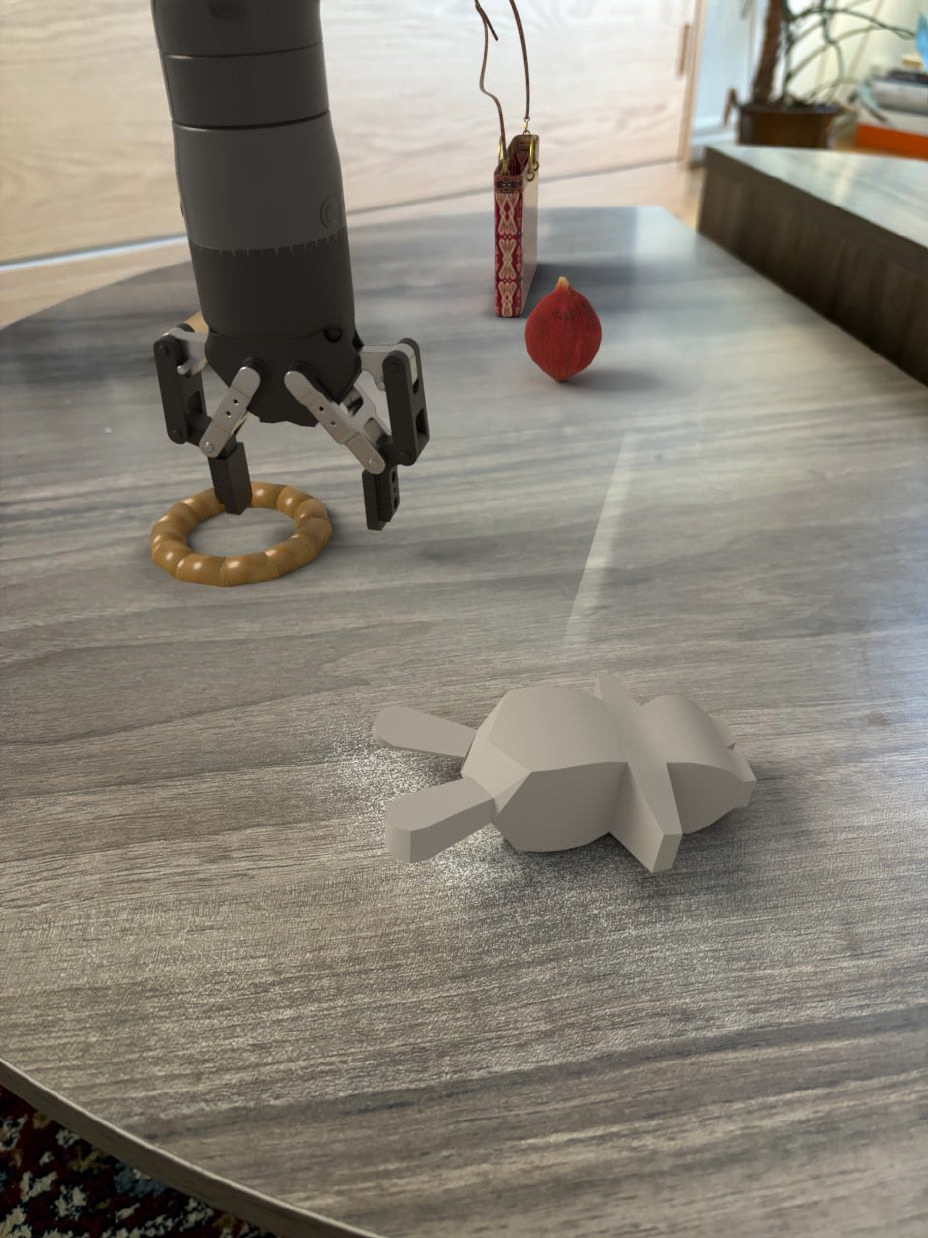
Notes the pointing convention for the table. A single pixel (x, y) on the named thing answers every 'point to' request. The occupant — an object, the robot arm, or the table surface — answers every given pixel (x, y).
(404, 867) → the table surface
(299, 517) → the ring
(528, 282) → the handbag
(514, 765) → the bunny figurine
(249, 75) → the robot arm
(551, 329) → the onion
